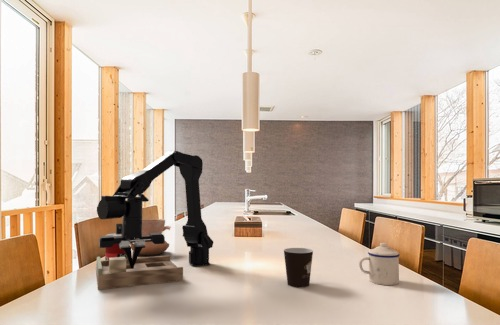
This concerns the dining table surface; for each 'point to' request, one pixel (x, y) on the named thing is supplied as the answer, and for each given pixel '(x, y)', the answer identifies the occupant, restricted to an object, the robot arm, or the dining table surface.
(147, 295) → the dining table surface
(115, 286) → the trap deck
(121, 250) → the canned food
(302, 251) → the coffee mug
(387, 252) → the teacup with lid
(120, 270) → the maple block
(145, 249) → the ceramic jug
